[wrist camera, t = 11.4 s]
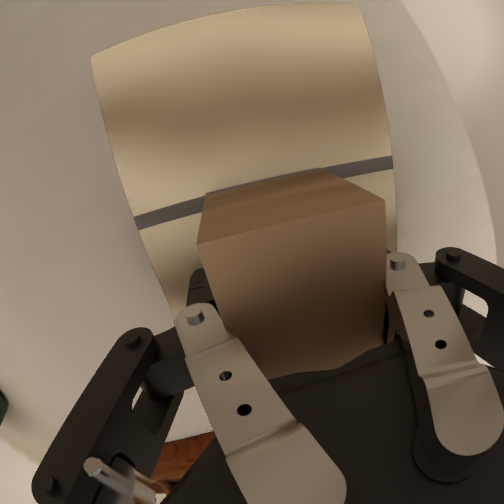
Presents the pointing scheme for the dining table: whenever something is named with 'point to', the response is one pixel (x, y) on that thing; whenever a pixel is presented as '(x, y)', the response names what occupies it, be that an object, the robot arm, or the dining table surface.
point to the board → (240, 117)
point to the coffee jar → (2, 409)
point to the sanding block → (297, 268)
